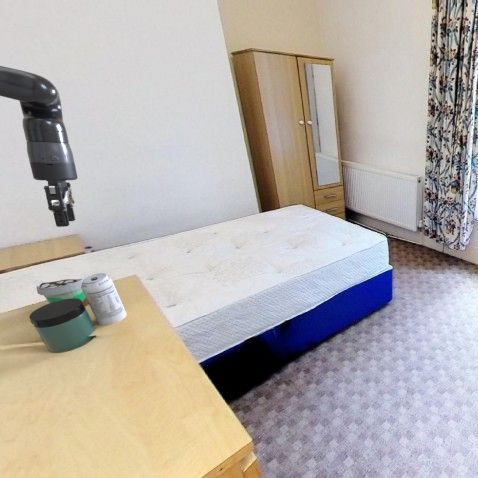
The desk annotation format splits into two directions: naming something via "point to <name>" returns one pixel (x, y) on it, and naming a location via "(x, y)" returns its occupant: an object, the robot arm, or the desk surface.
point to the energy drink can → (103, 299)
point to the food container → (62, 290)
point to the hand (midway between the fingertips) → (66, 223)
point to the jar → (68, 333)
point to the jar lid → (57, 312)
